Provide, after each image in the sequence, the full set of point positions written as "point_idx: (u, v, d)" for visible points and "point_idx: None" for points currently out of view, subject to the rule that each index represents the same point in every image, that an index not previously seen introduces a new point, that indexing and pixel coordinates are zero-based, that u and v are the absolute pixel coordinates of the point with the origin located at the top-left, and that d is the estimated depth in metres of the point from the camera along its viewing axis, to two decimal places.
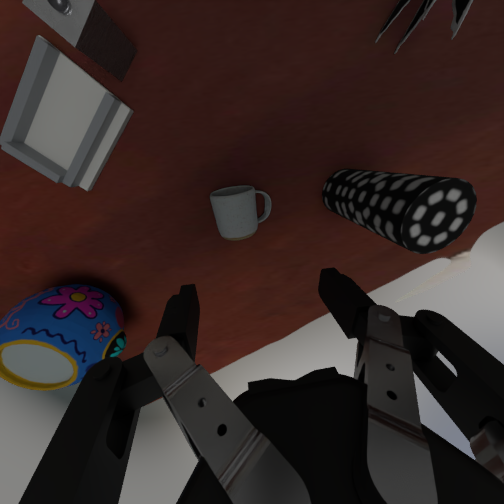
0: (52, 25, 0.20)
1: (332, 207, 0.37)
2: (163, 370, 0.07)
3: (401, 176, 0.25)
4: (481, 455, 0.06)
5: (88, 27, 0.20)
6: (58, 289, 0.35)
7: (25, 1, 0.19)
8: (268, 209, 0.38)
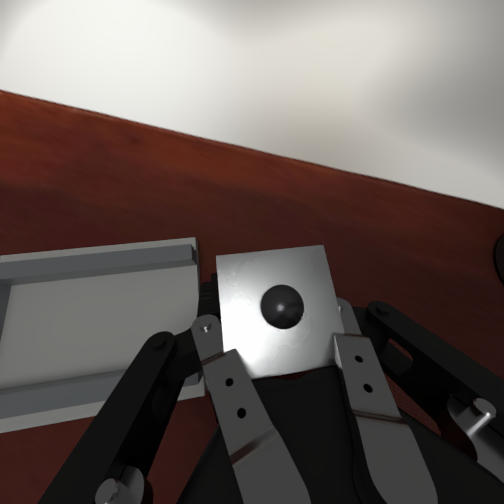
0: (226, 318, 0.07)
1: None
2: (212, 342, 0.08)
3: None
4: (450, 434, 0.06)
5: None
6: None
7: (223, 259, 0.08)
8: None
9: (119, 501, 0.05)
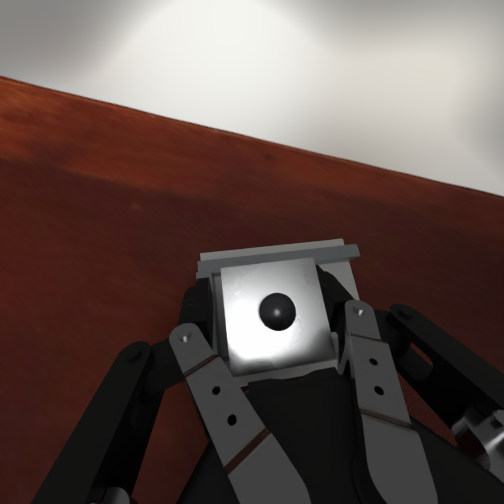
0: (230, 322, 0.09)
1: None
2: (189, 353, 0.08)
3: None
4: (464, 443, 0.06)
5: None
6: None
7: (226, 270, 0.10)
8: None
9: None
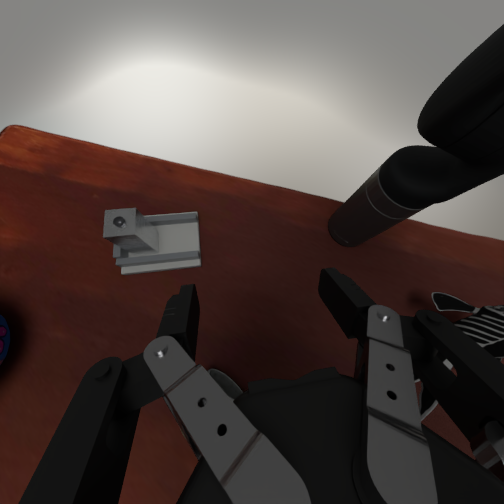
0: (105, 224, 0.31)
1: None
2: (163, 370, 0.07)
3: None
4: (481, 455, 0.06)
5: (121, 237, 0.31)
6: None
7: (106, 211, 0.32)
8: None
9: None
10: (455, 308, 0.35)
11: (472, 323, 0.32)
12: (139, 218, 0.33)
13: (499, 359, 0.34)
